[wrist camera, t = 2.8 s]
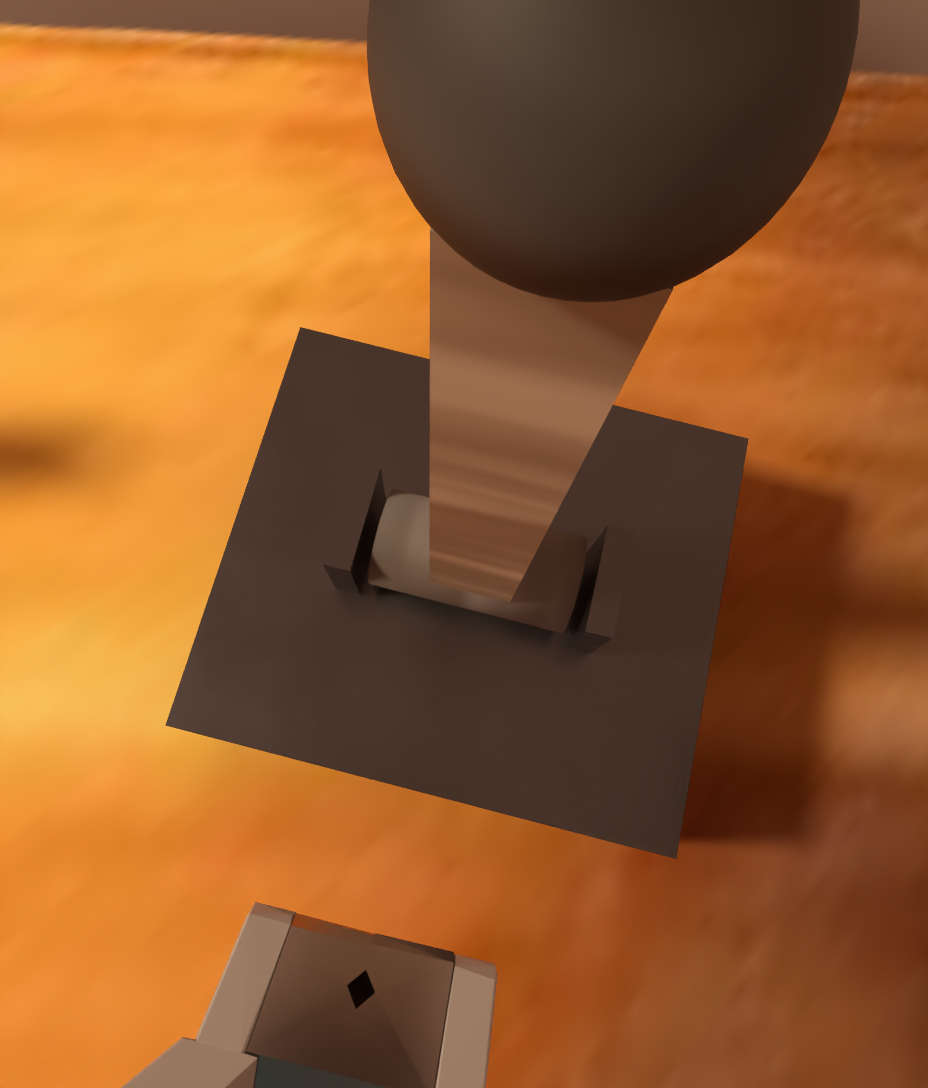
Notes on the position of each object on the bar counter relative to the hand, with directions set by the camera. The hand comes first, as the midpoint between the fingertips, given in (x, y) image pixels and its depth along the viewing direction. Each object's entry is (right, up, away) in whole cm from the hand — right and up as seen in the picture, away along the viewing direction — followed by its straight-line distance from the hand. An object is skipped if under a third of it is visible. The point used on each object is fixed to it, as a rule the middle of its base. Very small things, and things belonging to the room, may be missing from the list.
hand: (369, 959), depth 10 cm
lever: (+2, +4, +16) cm, 17 cm away
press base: (+1, +3, +23) cm, 23 cm away
